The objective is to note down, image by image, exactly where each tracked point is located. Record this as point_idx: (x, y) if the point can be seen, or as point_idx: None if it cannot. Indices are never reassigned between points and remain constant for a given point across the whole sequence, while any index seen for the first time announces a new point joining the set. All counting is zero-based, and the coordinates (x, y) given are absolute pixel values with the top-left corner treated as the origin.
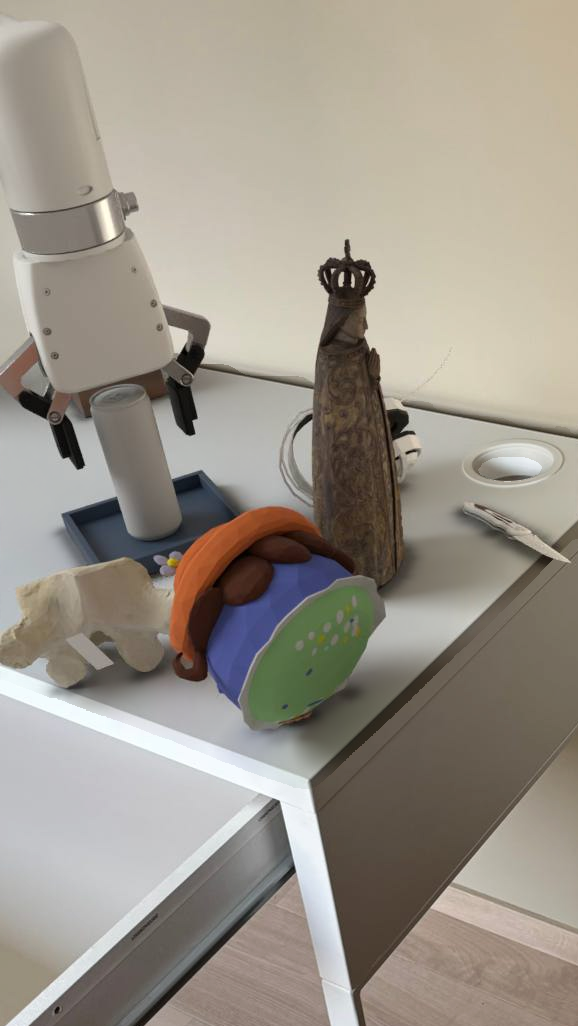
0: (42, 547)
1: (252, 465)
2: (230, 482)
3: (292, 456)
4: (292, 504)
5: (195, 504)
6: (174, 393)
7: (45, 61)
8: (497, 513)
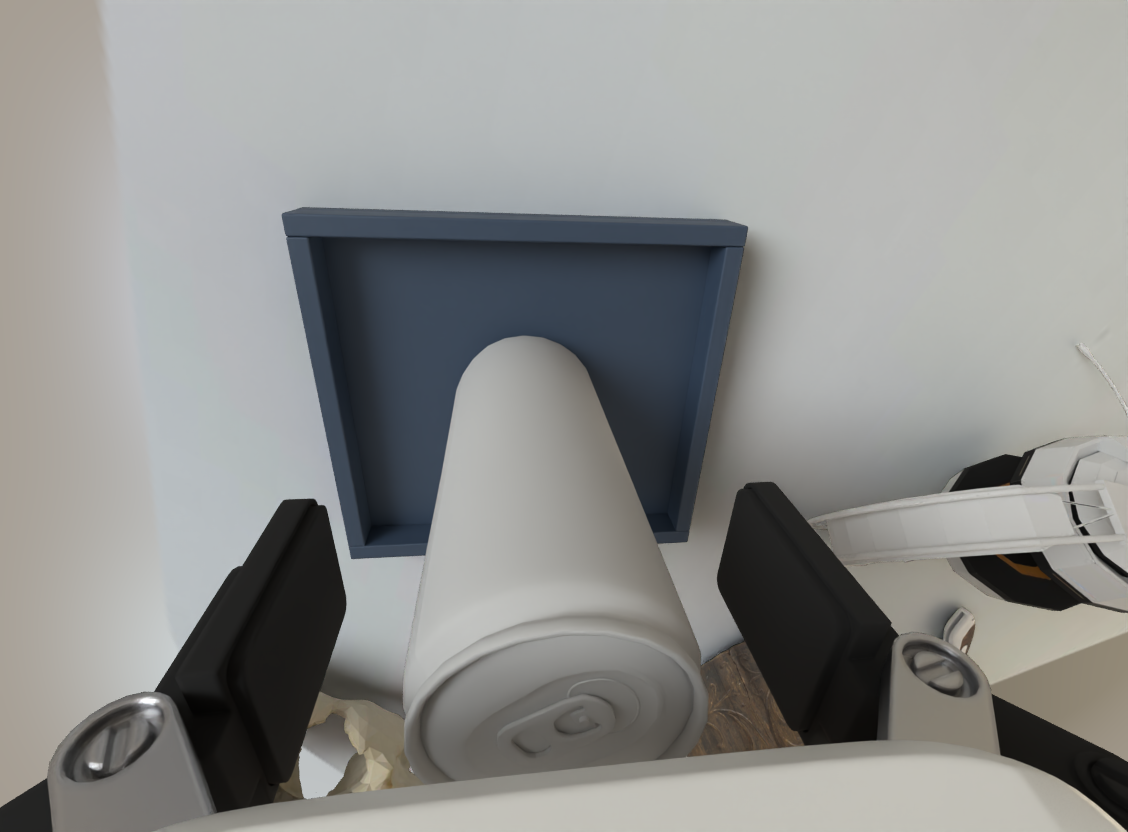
0: (223, 258)
1: (882, 180)
2: (783, 240)
3: (880, 561)
4: (807, 436)
5: (651, 334)
6: (794, 694)
7: None
8: (966, 652)
